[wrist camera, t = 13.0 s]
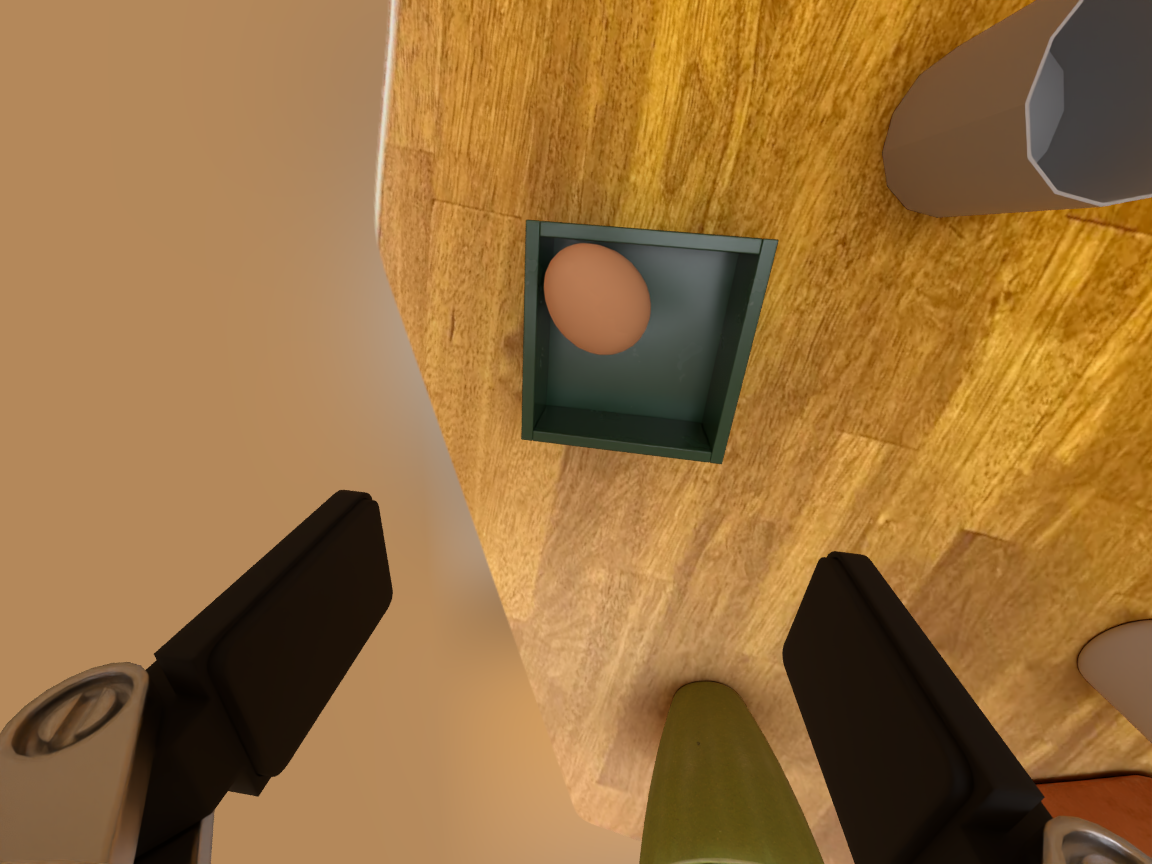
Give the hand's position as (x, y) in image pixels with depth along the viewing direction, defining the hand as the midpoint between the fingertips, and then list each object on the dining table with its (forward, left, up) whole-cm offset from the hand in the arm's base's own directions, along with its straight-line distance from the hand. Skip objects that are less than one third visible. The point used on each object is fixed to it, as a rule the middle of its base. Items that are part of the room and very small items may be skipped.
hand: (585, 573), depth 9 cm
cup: (+18, +13, -24) cm, 33 cm away
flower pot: (+14, -39, -24) cm, 48 cm away
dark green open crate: (+1, 0, -24) cm, 24 cm away
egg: (0, +1, -22) cm, 22 cm away
